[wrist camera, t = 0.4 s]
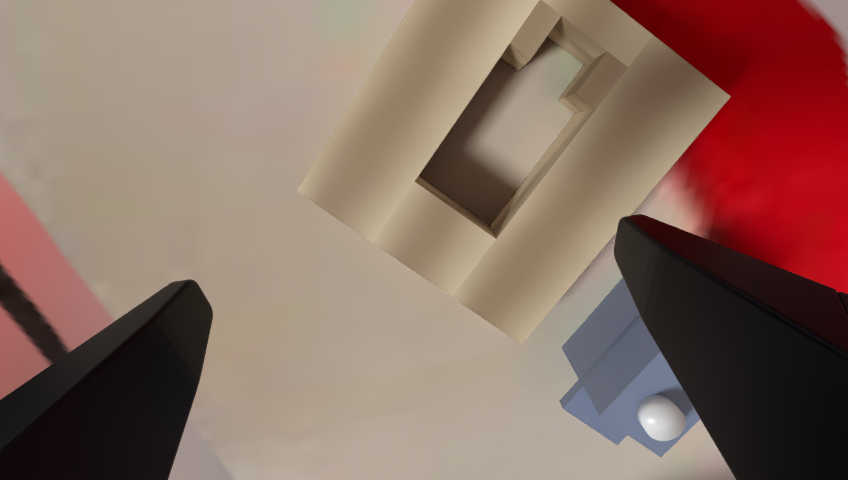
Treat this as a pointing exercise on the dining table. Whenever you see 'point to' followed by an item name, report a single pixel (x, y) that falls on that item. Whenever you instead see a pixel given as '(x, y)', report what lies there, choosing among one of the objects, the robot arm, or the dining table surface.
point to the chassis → (549, 180)
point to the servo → (625, 378)
